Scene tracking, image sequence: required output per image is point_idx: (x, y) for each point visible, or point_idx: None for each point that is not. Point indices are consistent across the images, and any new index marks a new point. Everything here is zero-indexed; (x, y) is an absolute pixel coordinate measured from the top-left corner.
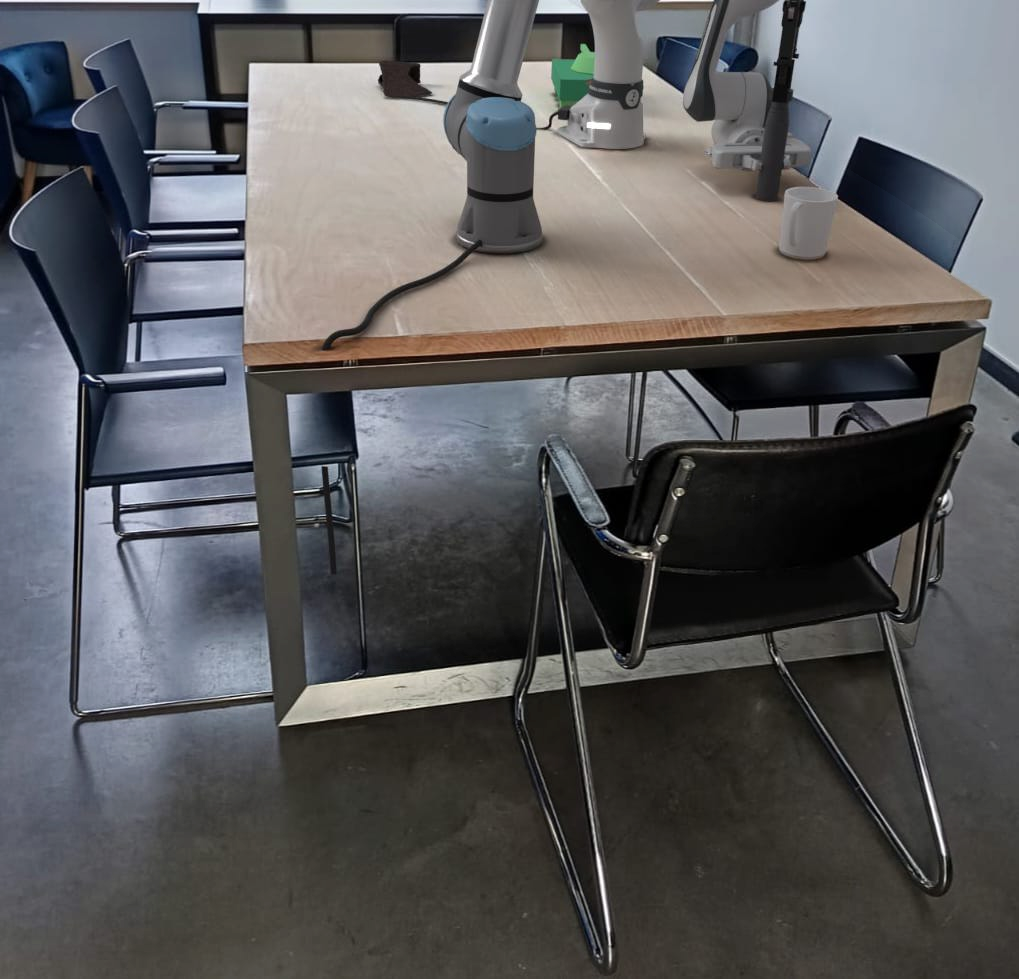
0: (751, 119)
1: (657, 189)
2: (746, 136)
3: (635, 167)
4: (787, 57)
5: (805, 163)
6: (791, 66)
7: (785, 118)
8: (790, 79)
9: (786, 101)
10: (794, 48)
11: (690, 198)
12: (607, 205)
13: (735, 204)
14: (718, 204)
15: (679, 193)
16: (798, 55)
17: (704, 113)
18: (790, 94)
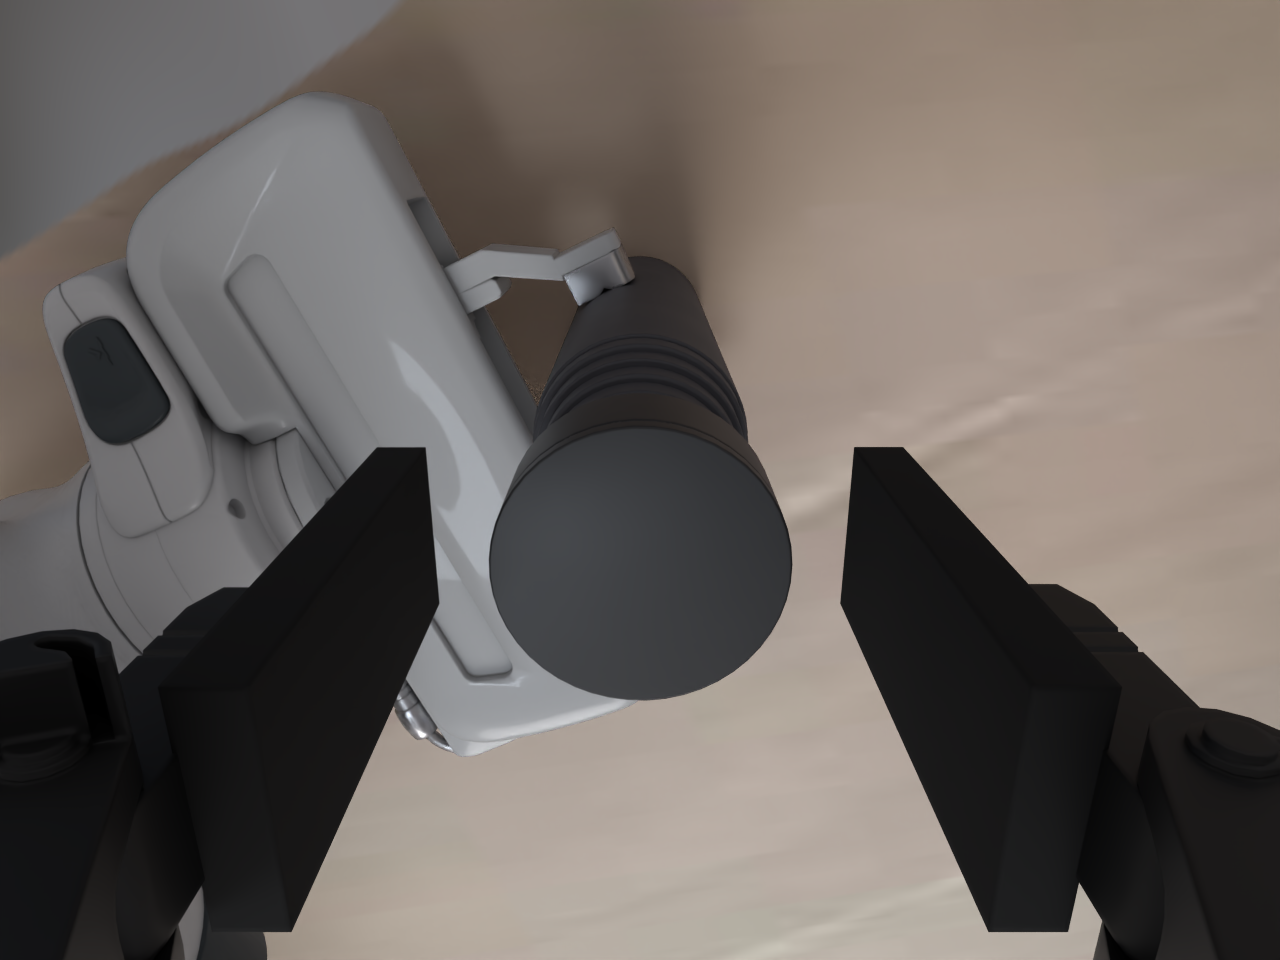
0: (48, 625)
1: (681, 802)
2: None
3: (371, 929)
4: (177, 845)
5: (387, 127)
6: (1077, 693)
7: (714, 384)
8: (374, 538)
9: (904, 453)
10: (83, 917)
11: (774, 661)
12: (975, 925)
13: (809, 458)
14: (834, 534)
15: (710, 714)
16: (22, 675)
17: (258, 934)
18: (731, 442)
